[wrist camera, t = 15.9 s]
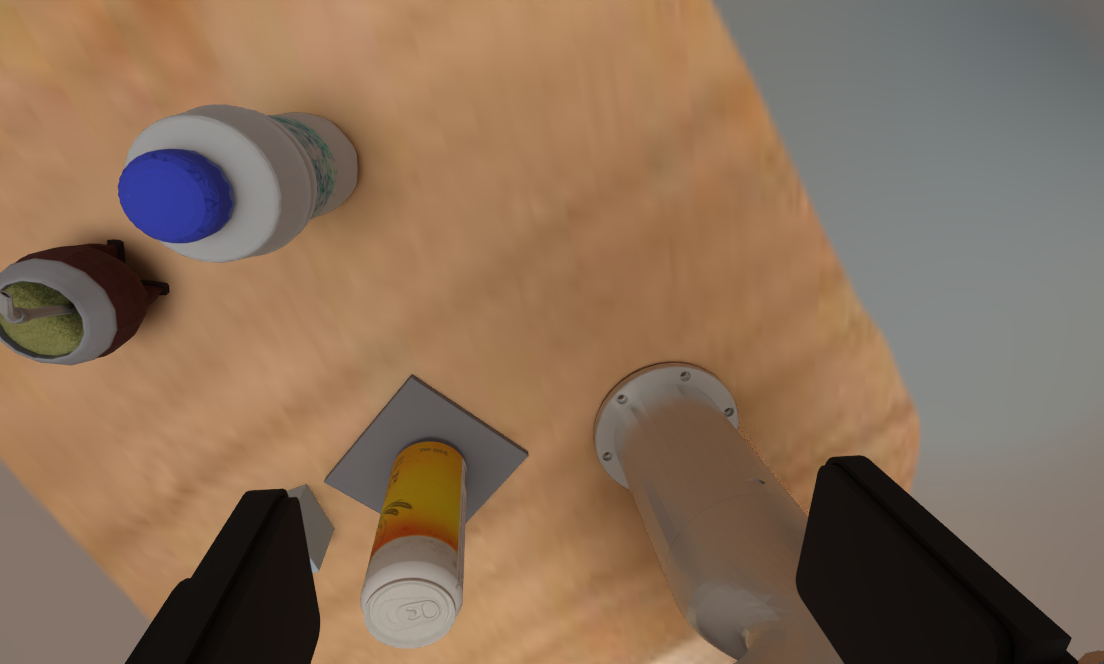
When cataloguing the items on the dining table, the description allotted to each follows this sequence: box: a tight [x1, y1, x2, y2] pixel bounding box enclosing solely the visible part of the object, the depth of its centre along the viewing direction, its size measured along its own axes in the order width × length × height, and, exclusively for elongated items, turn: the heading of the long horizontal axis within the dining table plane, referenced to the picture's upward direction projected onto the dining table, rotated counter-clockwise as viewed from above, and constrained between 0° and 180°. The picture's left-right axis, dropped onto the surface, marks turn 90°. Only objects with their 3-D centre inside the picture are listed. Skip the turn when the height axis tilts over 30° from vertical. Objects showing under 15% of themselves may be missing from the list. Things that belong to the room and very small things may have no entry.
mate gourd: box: [0, 239, 169, 365], centre depth 32 cm, size 8×8×15 cm
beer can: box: [360, 441, 467, 649], centre depth 40 cm, size 6×6×15 cm
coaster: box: [324, 375, 528, 523], centre depth 47 cm, size 12×12×1 cm
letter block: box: [287, 484, 334, 573], centre depth 46 cm, size 5×5×5 cm
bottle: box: [118, 105, 358, 263], centre depth 29 cm, size 7×7×20 cm
